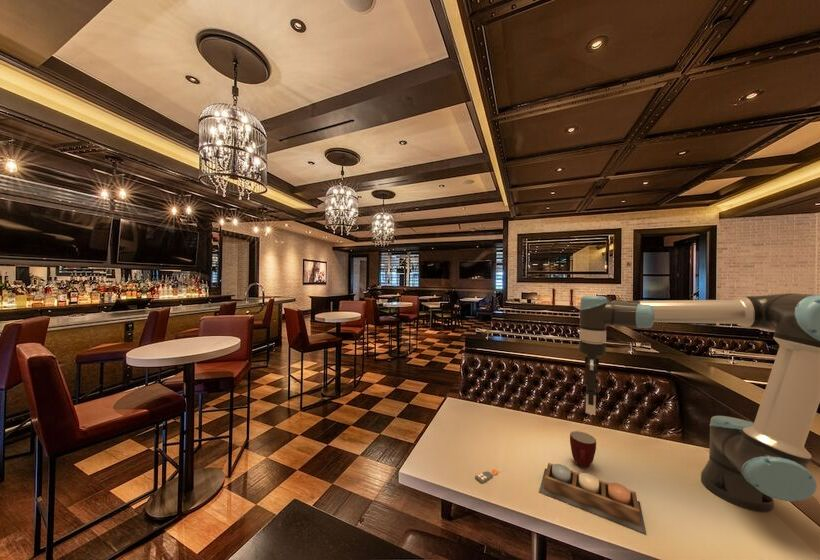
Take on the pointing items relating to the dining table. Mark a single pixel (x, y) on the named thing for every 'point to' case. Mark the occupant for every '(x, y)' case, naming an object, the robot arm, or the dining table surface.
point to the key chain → (486, 476)
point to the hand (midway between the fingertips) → (590, 409)
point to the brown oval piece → (619, 493)
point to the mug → (582, 448)
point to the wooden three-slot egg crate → (594, 500)
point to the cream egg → (589, 483)
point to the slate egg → (561, 473)
